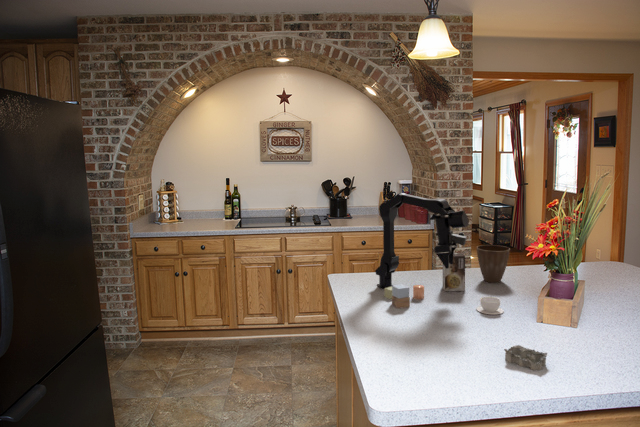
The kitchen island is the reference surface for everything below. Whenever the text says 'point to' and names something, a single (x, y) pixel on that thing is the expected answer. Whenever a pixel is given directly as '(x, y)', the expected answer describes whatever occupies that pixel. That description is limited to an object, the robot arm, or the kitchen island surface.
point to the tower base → (401, 302)
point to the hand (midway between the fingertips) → (449, 266)
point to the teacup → (490, 306)
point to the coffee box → (455, 274)
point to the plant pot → (492, 261)
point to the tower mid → (400, 291)
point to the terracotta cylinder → (418, 292)
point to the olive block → (388, 292)
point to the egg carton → (525, 353)
